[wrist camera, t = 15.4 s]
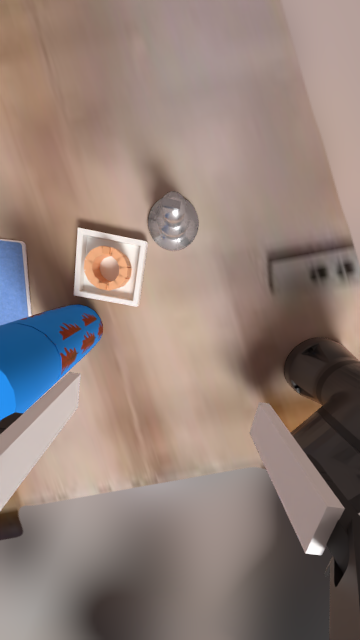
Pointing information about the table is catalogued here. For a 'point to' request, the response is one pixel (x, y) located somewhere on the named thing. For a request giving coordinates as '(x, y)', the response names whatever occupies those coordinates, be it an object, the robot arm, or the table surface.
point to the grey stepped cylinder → (173, 222)
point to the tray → (110, 267)
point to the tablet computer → (13, 281)
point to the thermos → (42, 352)
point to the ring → (94, 268)
